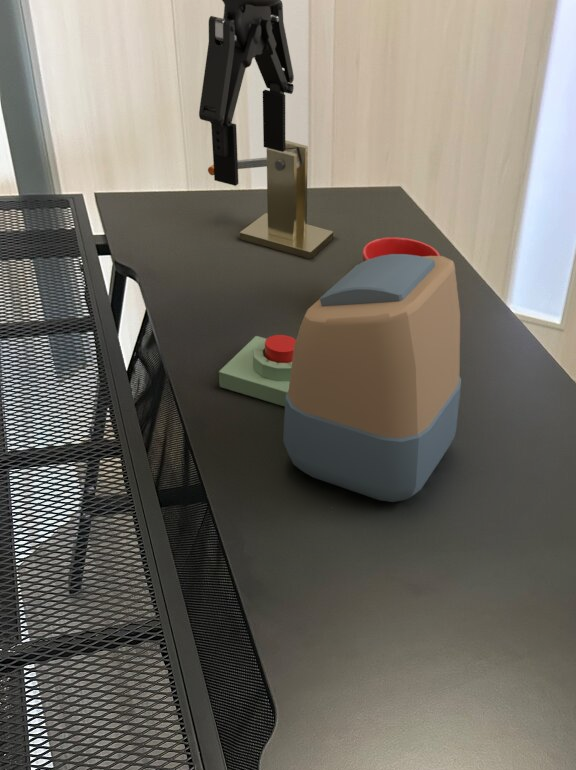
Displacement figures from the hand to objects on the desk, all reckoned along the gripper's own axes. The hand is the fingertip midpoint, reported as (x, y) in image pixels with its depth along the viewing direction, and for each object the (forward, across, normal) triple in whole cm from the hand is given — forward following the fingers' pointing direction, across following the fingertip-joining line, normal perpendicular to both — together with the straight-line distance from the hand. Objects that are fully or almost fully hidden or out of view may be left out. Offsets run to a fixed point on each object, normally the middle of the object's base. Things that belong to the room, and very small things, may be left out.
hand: (251, 165), depth 106 cm
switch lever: (+10, +24, +10) cm, 28 cm away
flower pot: (+20, +8, -18) cm, 28 cm away
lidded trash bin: (+20, -25, -26) cm, 41 cm away
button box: (+19, -15, -10) cm, 27 cm away
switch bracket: (+19, +24, +6) cm, 31 cm away
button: (+16, -15, -10) cm, 24 cm away
